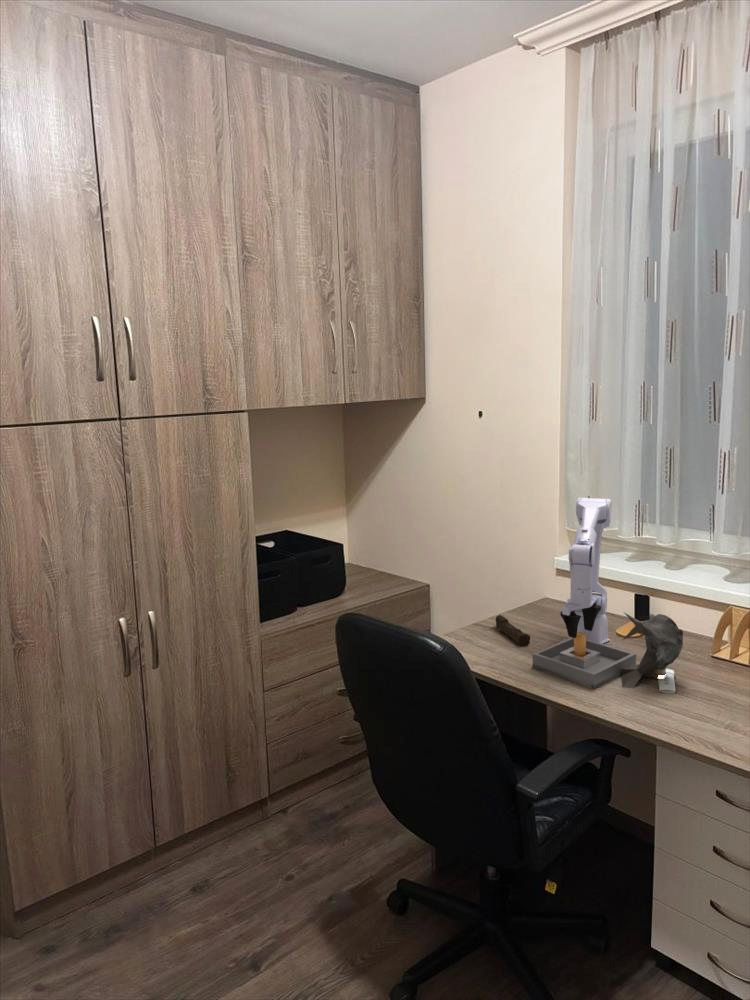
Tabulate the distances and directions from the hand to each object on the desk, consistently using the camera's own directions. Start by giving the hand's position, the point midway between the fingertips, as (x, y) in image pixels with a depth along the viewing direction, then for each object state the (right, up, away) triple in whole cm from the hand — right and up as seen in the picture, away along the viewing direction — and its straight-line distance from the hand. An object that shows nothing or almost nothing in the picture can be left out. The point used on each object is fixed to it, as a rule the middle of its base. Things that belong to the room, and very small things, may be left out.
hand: (580, 633), depth 211 cm
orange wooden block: (0, -8, +2) cm, 8 cm away
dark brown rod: (-16, -6, +25) cm, 30 cm away
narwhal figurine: (+17, -11, -9) cm, 22 cm away
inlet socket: (0, -9, +2) cm, 9 cm away
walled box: (+1, -9, 0) cm, 9 cm away
